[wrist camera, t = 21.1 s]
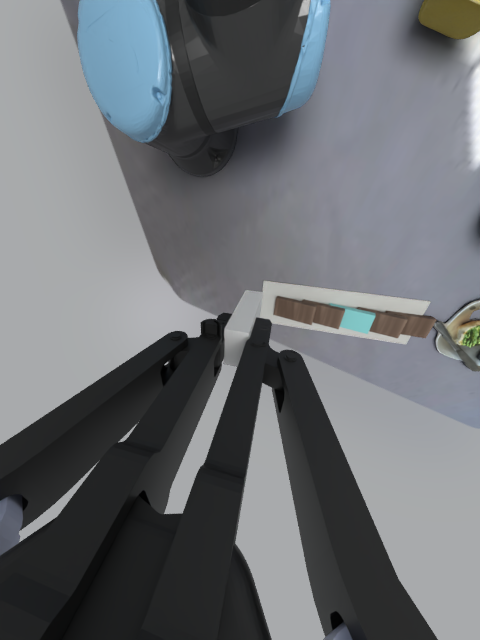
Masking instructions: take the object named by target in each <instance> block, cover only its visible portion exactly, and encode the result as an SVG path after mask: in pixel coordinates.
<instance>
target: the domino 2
mask: <svg viewBox="0 0 480 640" xmlns="http://www.w3.org/2000/svg"><path fill="white" fill-rule="evenodd" d="M302 301H303V302H307V303H311V304H316V305H317V308H316V312H315V315H314V319H313V323H316V324H320V325H324V326H328V327H331V328H335V329H339V327H340V324H341V321H342V318H343V316H344V313H345V309H344V308H340V307H336V306H331V305H327V304H322V303H318V302H314V301H309V300H305V299H303V300H302Z"/></svg>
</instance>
